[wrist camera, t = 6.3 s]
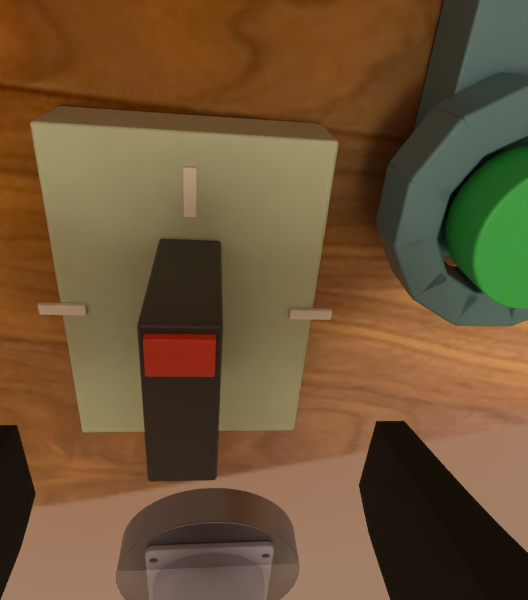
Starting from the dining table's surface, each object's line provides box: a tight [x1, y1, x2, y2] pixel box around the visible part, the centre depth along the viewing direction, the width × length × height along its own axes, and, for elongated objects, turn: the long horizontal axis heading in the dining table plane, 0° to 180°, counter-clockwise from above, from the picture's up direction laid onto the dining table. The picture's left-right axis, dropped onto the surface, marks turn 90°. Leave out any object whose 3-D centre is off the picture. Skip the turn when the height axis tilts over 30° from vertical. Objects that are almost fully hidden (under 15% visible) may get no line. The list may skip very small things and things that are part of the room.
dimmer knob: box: [137, 239, 223, 481], centre depth 13 cm, size 5×2×5 cm, turn 175°
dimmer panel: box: [30, 106, 339, 432], centre depth 16 cm, size 11×9×3 cm
